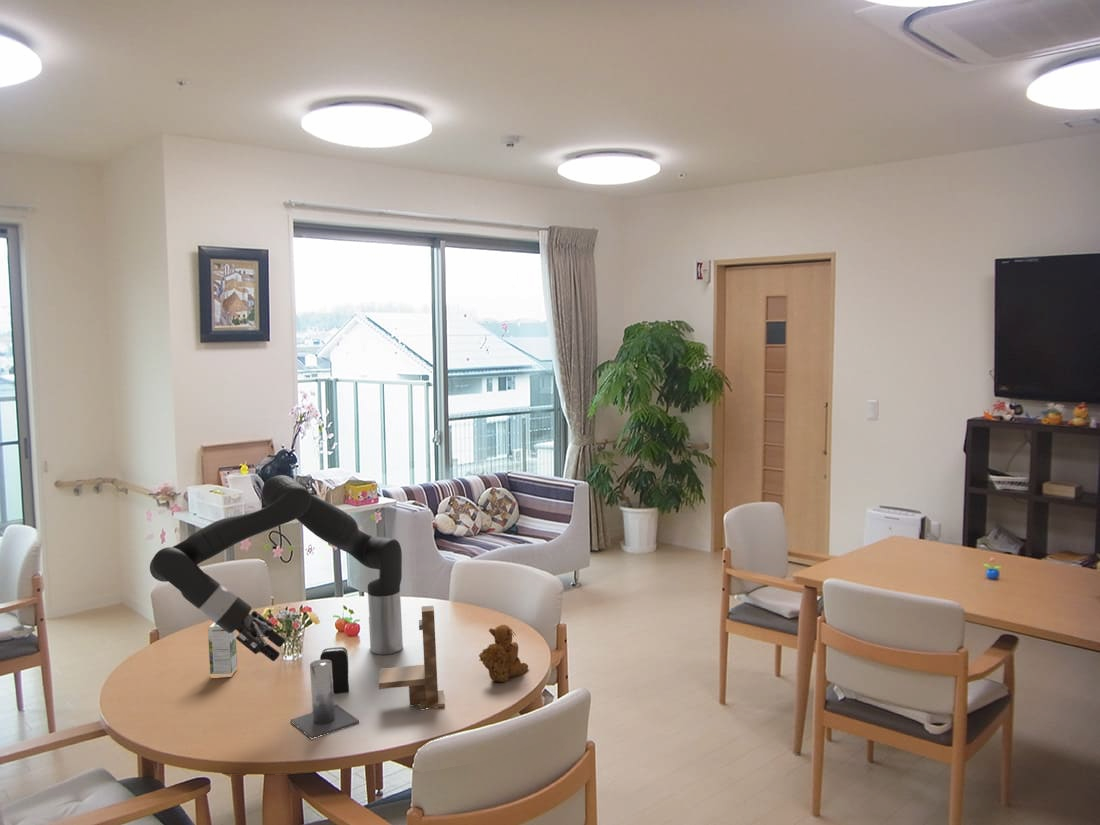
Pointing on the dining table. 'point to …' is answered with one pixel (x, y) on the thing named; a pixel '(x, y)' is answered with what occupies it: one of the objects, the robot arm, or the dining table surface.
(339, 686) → the battery charger
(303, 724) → the felt pad
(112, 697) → the dining table surface
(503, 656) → the stuffed squirrel
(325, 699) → the steel cylinder
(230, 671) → the syrup box
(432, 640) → the walnut standard
